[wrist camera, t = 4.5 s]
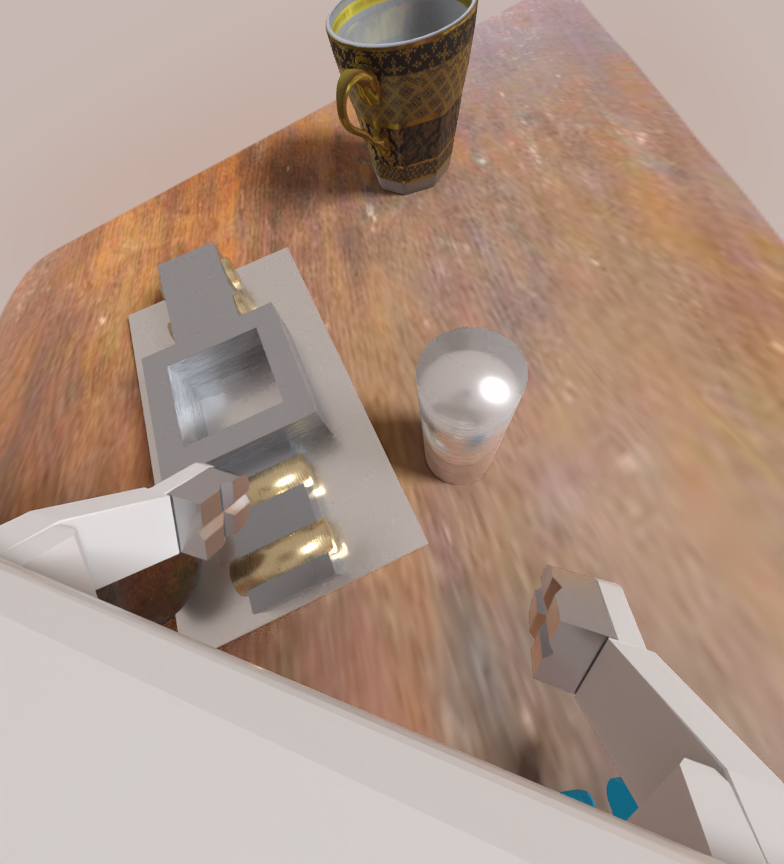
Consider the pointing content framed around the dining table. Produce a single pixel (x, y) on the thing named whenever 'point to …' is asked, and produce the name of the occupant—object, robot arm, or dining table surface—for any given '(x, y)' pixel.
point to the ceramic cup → (403, 82)
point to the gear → (611, 798)
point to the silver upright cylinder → (467, 399)
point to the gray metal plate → (265, 439)
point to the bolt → (155, 588)
